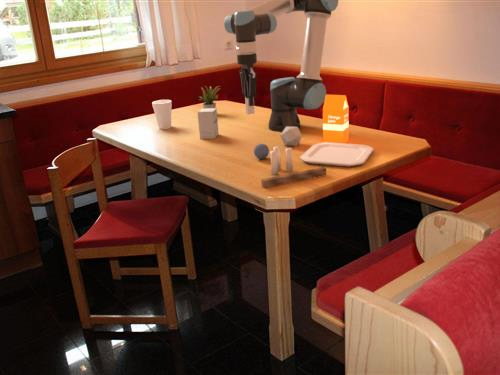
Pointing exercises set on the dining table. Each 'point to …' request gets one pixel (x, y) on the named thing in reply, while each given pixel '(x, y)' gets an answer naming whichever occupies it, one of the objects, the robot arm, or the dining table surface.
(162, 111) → the foam cup
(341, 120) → the orange juice
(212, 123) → the supplement box
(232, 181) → the dining table surface
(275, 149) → the front pin
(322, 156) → the plate
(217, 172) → the dining table surface
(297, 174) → the board
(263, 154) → the ball
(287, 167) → the pin
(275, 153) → the pin
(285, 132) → the die
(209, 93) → the house plant
